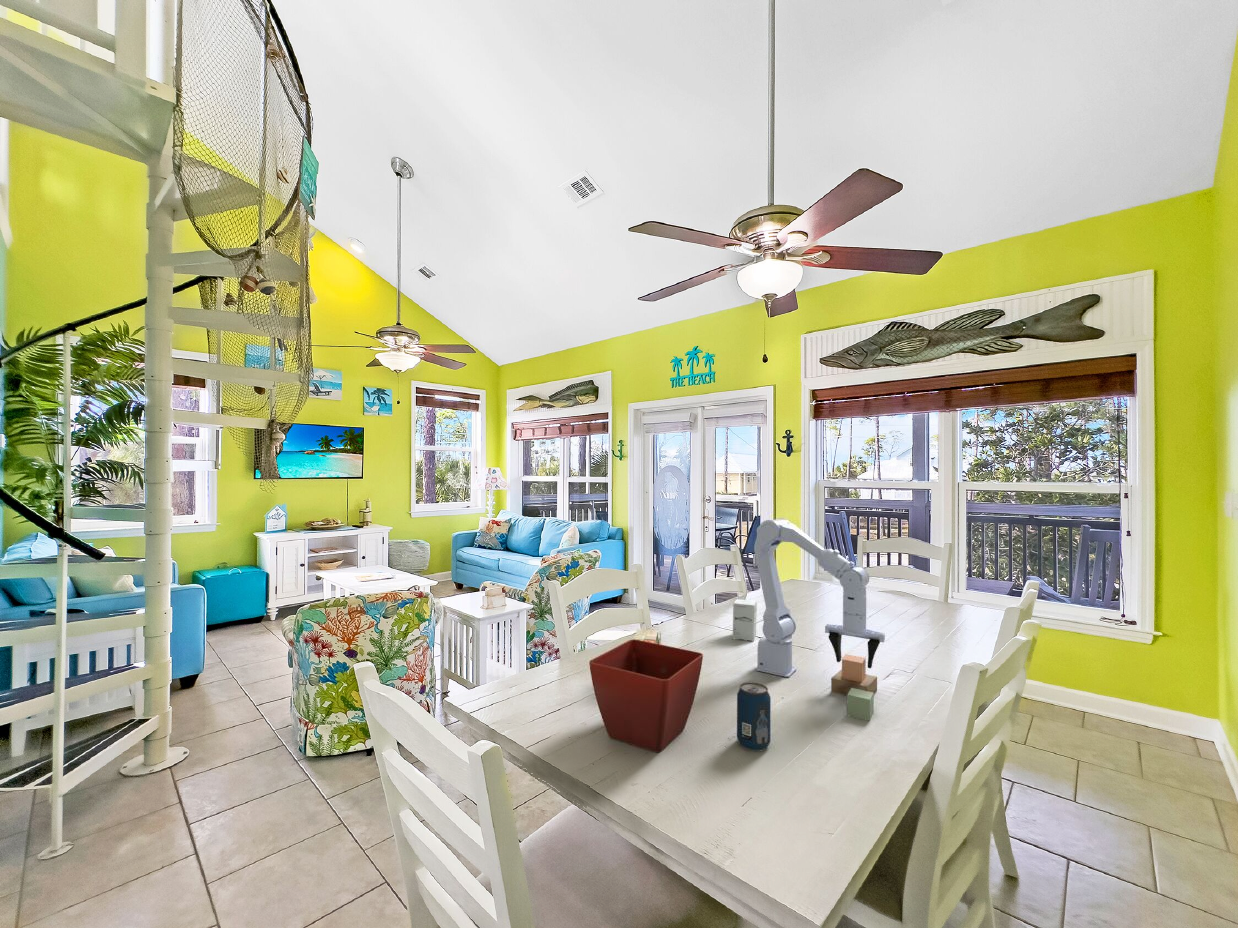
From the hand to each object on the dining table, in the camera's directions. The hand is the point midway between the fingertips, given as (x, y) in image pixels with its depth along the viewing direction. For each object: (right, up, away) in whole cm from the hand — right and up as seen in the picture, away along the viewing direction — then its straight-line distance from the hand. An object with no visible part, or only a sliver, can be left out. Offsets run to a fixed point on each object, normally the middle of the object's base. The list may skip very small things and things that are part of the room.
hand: (854, 664), depth 144 cm
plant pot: (-56, -6, -25) cm, 62 cm away
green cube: (-4, -7, -14) cm, 16 cm away
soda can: (-34, -7, -29) cm, 45 cm away
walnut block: (0, -8, 0) cm, 8 cm away
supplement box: (-18, -8, +46) cm, 50 cm away
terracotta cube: (0, -4, 0) cm, 4 cm away
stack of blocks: (-54, -7, +11) cm, 56 cm away
